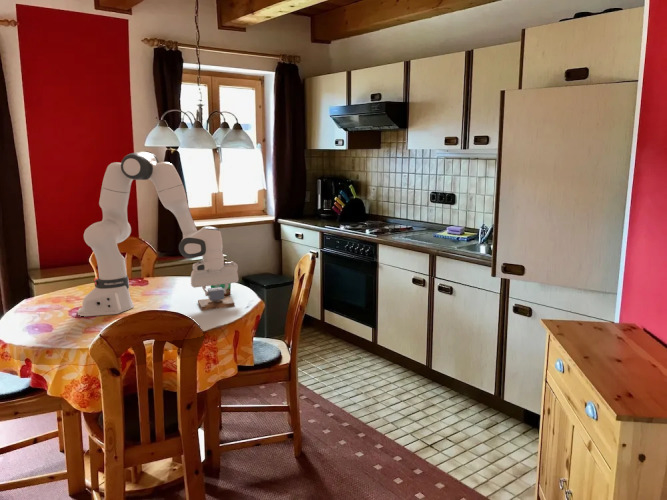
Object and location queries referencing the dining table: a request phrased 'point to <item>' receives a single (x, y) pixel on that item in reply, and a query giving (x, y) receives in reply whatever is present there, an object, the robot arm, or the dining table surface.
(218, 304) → the board
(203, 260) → the robot arm
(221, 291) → the grey drawer unit
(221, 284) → the food container
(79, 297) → the dining table surface
